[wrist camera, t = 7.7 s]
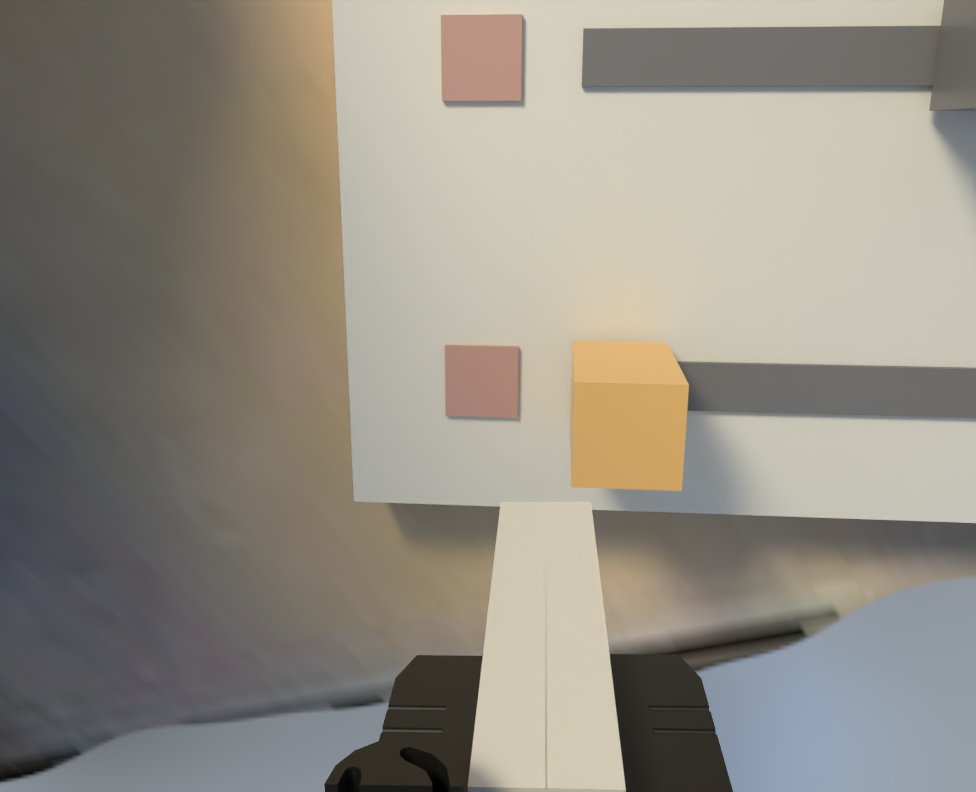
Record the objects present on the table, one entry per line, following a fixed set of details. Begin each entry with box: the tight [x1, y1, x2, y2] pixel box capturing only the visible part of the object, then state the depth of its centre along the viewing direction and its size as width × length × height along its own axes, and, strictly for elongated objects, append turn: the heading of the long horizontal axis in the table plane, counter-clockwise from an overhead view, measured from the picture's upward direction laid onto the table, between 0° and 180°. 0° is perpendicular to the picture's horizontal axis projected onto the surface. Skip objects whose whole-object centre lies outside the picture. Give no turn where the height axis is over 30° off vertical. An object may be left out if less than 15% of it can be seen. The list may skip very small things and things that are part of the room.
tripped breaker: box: [570, 341, 689, 491], centre depth 26 cm, size 3×3×5 cm
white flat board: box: [332, 0, 976, 523], centre depth 28 cm, size 28×19×3 cm
